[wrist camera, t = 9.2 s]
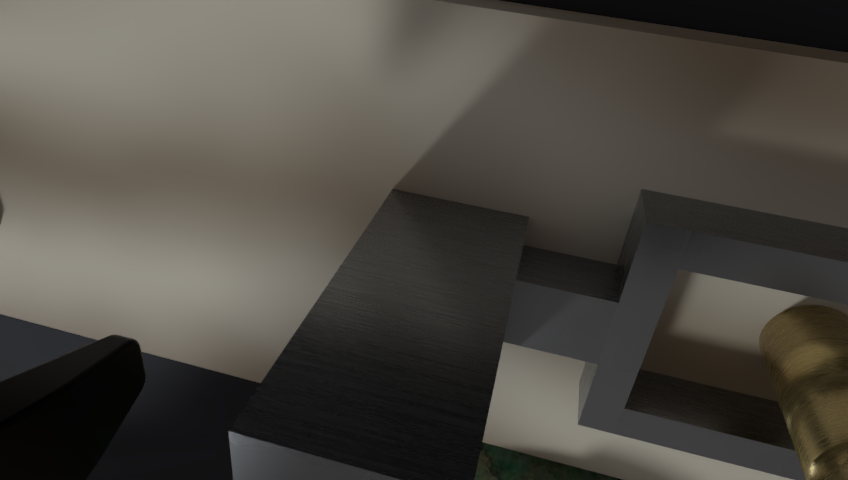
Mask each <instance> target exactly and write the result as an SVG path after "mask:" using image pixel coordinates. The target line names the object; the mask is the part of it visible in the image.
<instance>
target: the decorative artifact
mask: <svg viewBox="0 0 848 480" xmlns="http://www.w3.org/2000/svg"><path fill="white" fill-rule="evenodd" d="M475 480H617V479H615V478H614V477H611V476H608V475H604V474H600V473H596V472H593V471H589V470H585V469H581V468H578V467H574V466H570V465H566V464H563V463H559V462H555V461H551V460H548V459H544V458H540V457H536V456H533V455H529V454H525V453H521V452H518V451H514V450H510V449H506V448H502V447H499V446H495V445H491V444H487V443H484V442H482V446H481V451H480V456H479V460H478V465H477V470H476V475H475Z"/></svg>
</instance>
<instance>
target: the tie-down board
mask: <svg viewBox="0 0 848 480" xmlns="http://www.w3.org/2000/svg"><path fill="white" fill-rule="evenodd" d="M392 189H396V190H400V191H405V192H410V193H415V194H420V195H425V196H430V197H435V198H440V199H444V200H449V201H454V202H459V203H464V204H469V205H474V206H479V207H484V208H489V209H493V210H498V211H503V212H508V213H513V214H518V215H523V216H528V217H529V220H528V225H527V230H526V234H525V239H524V244H523V245H526V246H531V247H536V248H540V249H545V250H550V251H554V252H559V253H564V254H569V255H573V256H578V257H583V258H588V259H592V260H597V261H602V262H606V263H611V264H616V265H617V263H618V260H619V257H620V253H621V250H622V247H623V244H624V241H625V238H626V235H627V232H628V229H629V225H630V222H631V219H632V216H633V213H634V210H635V207H636V204H637V201H638V197H639V194H640V191H641V189H645V190H650V191H655V192H661V193H666V194H671V195H676V196H681V197H687V198H692V199H697V200H702V201H708V202H713V203H718V204H723V205H728V206H734V207H739V208H744V209H749V210H755V211H760V212H765V213H770V214H775V215H781V216H786V217H791V218H796V219H802V220H807V221H812V222H817V223H822V224H828V225H833V226H838V227H843V228H848V53H847V52H841V51H834V50H827V49H821V48H814V47H807V46H800V45H794V44H787V43H780V42H774V41H767V40H760V39H754V38H747V37H740V36H734V35H727V34H720V33H714V32H707V31H700V30H694V29H687V28H680V27H674V26H667V25H660V24H653V23H647V22H640V21H633V20H627V19H620V18H613V17H607V16H600V15H593V14H587V13H580V12H573V11H567V10H560V9H553V8H547V7H540V6H533V5H527V4H520V3H513V2H506V1H500V0H0V314H3V315H6V316H10V317H14V318H18V319H21V320H25V321H29V322H33V323H37V324H40V325H44V326H48V327H52V328H55V329H59V330H63V331H67V332H70V333H74V334H78V335H82V336H85V337H89V338H93V339H97V340H100V339H102V338H105V337H107V336H110V335H121V336H125V337H129V338H133V339H135V340H137V341H138V343H139V344H140V348H141V351H142V352H145V353H149V354H153V355H157V356H161V357H164V358H168V359H172V360H176V361H179V362H183V363H187V364H191V365H194V366H198V367H202V368H206V369H209V370H213V371H217V372H221V373H224V374H228V375H232V376H236V377H239V378H243V379H247V380H251V381H254V382H258V383H261V382H262V381H263V379H264V378H265V376H266V375H267V373H268V372H269V370H270V369H271V367H272V366H273V364H274V363H275V361H276V360H277V358H278V357H279V356H280V354H281V353H282V351H283V350H284V348H285V347H286V345H287V344H288V342H289V341H290V339H291V338H292V336H293V335H294V333H295V332H296V331H297V329H298V328H299V326H300V325H301V323H302V322H303V320H304V319H305V317H306V316H307V314H308V313H309V311H310V310H311V308H312V307H313V305H314V304H315V303H316V301H317V300H318V298H319V297H320V295H321V294H322V292H323V291H324V289H325V288H326V286H327V285H328V283H329V282H330V280H331V279H332V277H333V276H334V275H335V273H336V272H337V270H338V269H339V267H340V266H341V264H342V263H343V261H344V260H345V258H346V257H347V255H348V254H349V252H350V251H351V249H352V248H353V247H354V245H355V244H356V242H357V241H358V239H359V238H360V236H361V235H362V233H363V232H364V230H365V229H366V227H367V226H368V224H369V223H370V221H371V220H372V219H373V217H374V216H375V214H376V213H377V211H378V210H379V208H380V207H381V205H382V204H383V202H384V201H385V199H386V198H387V196H388V195H389V194H390V192H391V191H392ZM804 305H822V306H828V307H831V308H834V309H837V310H839V311H841V312H843V313H845V314H846V315H847V316H848V305H847V304H842V303H837V302H833V301H828V300H823V299H818V298H814V297H809V296H804V295H799V294H794V293H790V292H785V291H780V290H775V289H771V288H766V287H761V286H756V285H752V284H747V283H742V282H737V281H732V280H728V279H723V278H718V277H713V276H709V275H704V274H699V273H694V272H690V271H685V270H680V269H678V271H677V274H676V277H675V279H674V282H673V284H672V287H671V289H670V292H669V295H668V297H667V300H666V302H665V305H664V308H663V310H662V313H661V315H660V318H659V320H658V323H657V326H656V328H655V331H654V333H653V336H652V338H651V341H650V344H649V346H648V349H647V351H646V354H645V356H644V359H643V362H642V364H641V367H640V369H642V370H646V371H651V372H655V373H659V374H663V375H668V376H672V377H676V378H680V379H684V380H689V381H693V382H697V383H701V384H706V385H710V386H714V387H718V388H722V389H727V390H731V391H735V392H739V393H743V394H748V395H752V396H756V397H760V398H765V399H769V400H773V401H777V402H778V399H777V396H776V394H775V391H774V388H773V385H772V382H771V379H770V376H769V374H768V371H767V368H766V365H765V362H764V359H763V356H762V354H761V351H760V348H759V337H760V334H761V331H762V329H763V328H764V326H765V325H766V324H767V322H768V321H769V320H771V319H772V318H773V317H774V316H776V315H777V314H779V313H781V312H783V311H785V310H787V309H790V308H793V307H798V306H804ZM584 365H585V361H581V360H577V359H573V358H568V357H564V356H560V355H556V354H552V353H547V352H543V351H539V350H535V349H531V348H526V347H522V346H518V345H514V344H510V343H505V342H503V345H502V350H501V355H500V359H499V364H498V369H497V374H496V379H495V384H494V388H493V393H492V398H491V403H490V408H489V412H488V417H487V422H486V427H485V432H484V436H483V441H482V442H484V443H487V444H491V445H495V446H499V447H502V448H506V449H510V450H514V451H518V452H521V453H525V454H529V455H533V456H536V457H540V458H544V459H548V460H551V461H555V462H559V463H563V464H566V465H570V466H574V467H578V468H581V469H585V470H589V471H593V472H596V473H600V474H604V475H608V476H611V477H615V478H619V479H623V480H793V479H789V478H785V477H781V476H777V475H773V474H769V473H765V472H761V471H758V470H754V469H750V468H746V467H742V466H738V465H734V464H730V463H726V462H722V461H718V460H714V459H710V458H707V457H703V456H699V455H695V454H691V453H687V452H683V451H679V450H675V449H671V448H667V447H663V446H659V445H656V444H652V443H648V442H644V441H640V440H636V439H632V438H628V437H624V436H620V435H616V434H612V433H608V432H605V431H601V430H597V429H593V428H589V427H585V426H581V425H578V404H579V381H580V378H581V375H582V371H583V368H584Z"/></svg>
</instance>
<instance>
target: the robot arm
mask: <svg viewBox="0 0 848 480" xmlns="http://www.w3.org/2000/svg"><path fill="white" fill-rule="evenodd" d="M145 377H146V374H145V368H144V363H143V358H142V353H141V348H140V344H139V343H138V341H137V340H135V339H133V338H129V337H125V336H121V335H110V336H107V337H105V338H102V339H100V340H98V341H95V342H93V343H90V344H88V345H86V346H83V347H81V348H79V349H76V350H74V351H72V352H69V353H67V354H65V355H62V356H60V357H57V358H55V359H53V360H50V361H48V362H46V363H43V364H41V365H39V366H36V367H34V368H32V369H29V370H27V371H24V372H22V373H20V374H17V375H15V376H13V377H10V378H8V379H6V380H3V381H1V382H0V480H86V479H87V477H88V476H89V474H90V473H91V472H92V470H93V469H94V467H95V466H96V464H97V463H98V461H99V460H100V458H101V456H102V455H103V453H104V451H105V450H106V448H107V447H108V445H109V443H110V442H111V440H112V438H113V437H114V435H115V433H116V432H117V430H118V428H119V427H120V425H121V423H122V422H123V420H124V418H125V417H126V415H127V413H128V412H129V410H130V409H131V407H132V405H133V404H134V402H135V400H136V399H137V397H138V395H139V394H140V392H141V390H142V388H143V386H144V383H145Z"/></svg>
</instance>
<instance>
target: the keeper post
mask: <svg viewBox="0 0 848 480" xmlns="http://www.w3.org/2000/svg"><path fill="white" fill-rule="evenodd" d="M759 348H760V351H761V354H762V356H763V359H764V362H765V365H766V368H767V371H768V374H769V376H770V379H771V382H772V385H773V388H774V391H775V394H776V396H777V399H778V402H779V405H780V408H781V411H782V414H783V416H784V419H785V422H786V425H787V428H788V431H789V434H790V436H791V439H792V442H793V445H794V448H795V451H796V454H797V456H798V459H799V462H800V465H801V468H802V471H803V473H804V476H805V479H806V480H848V316H847V315H846V314H845V313H843V312H841V311H839V310H837V309H834V308H831V307H828V306H822V305H804V306H798V307H793V308H790V309H787V310H785V311H783V312H781V313H779V314H777V315H776V316H774V317H773V318H772V319H771V320H769V321H768V322H767V324H766V325H765V326H764V328H763V329H762V331H761V334H760V337H759Z"/></svg>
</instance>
